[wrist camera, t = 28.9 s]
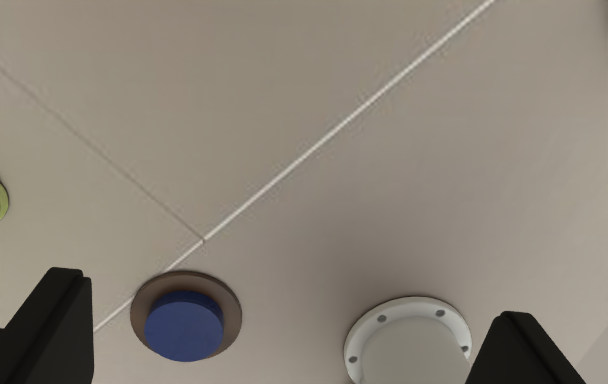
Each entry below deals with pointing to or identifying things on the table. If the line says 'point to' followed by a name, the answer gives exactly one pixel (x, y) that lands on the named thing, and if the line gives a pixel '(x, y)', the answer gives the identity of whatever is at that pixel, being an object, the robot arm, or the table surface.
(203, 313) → the jar lid
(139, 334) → the coaster
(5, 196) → the tube
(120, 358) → the table surface
